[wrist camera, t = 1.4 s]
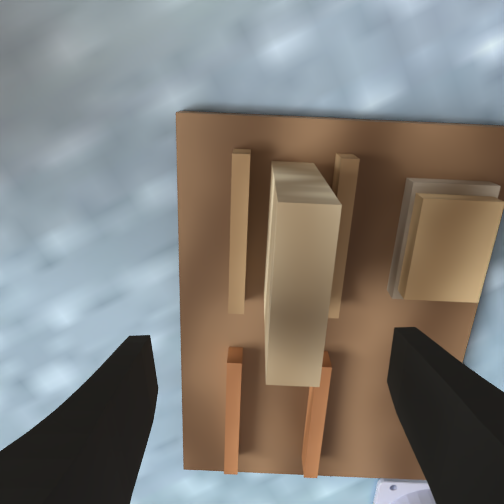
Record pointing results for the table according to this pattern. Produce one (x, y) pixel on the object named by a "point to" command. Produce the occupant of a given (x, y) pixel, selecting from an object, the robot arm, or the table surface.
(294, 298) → the birch board
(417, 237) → the oak offcut
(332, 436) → the rack
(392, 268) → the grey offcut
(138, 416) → the robot arm
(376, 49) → the table surface
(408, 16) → the table surface
